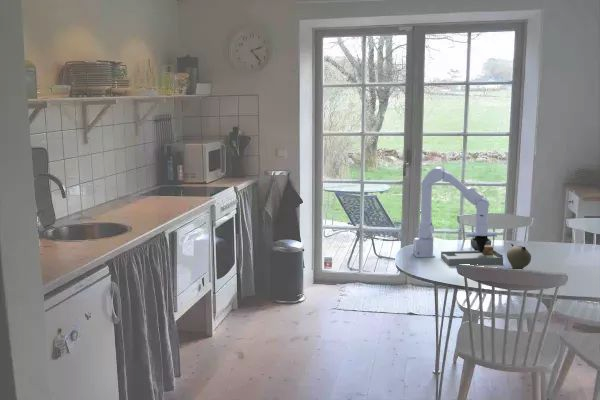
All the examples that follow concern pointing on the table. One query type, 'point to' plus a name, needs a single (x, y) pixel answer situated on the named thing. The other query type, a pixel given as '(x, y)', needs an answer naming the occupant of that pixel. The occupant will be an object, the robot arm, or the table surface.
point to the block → (488, 250)
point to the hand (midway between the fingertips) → (480, 251)
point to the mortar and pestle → (475, 246)
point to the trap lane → (471, 258)
